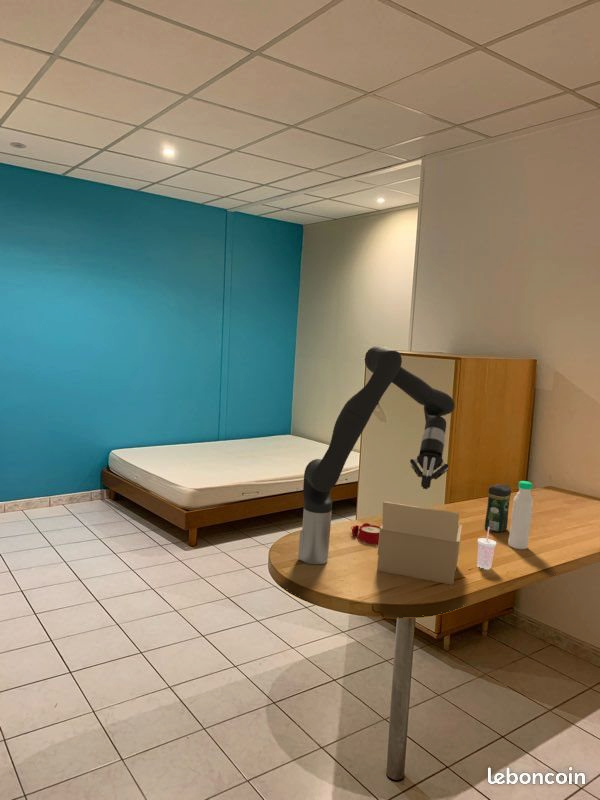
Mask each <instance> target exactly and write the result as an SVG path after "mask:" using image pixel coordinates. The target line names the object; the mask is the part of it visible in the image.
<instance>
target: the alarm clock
mask: <svg viewBox="0 0 600 800" xmlns="http://www.w3.org/2000/svg"><path fill="white" fill-rule="evenodd" d="M380 527H381V526H379V525H375V524H370V523H368V522H365V523H363V524H362V525H353V526H351V527H350V529H351V534H352V536H353V537H355V536H356V538H357V539H358V541H360V542H363V543H367V544H375V545H378V543H379V532H380Z"/></svg>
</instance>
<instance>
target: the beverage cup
mask: <svg viewBox="0 0 600 800" xmlns="http://www.w3.org/2000/svg"><path fill="white" fill-rule="evenodd" d="M489 528H490V527H488V529H487V533H486V537H484V538H483V537H481V538H480V537H479V538H477V543H478V544H477V558H476V559H477V560H476V566H477V568H479V567H480V568H479V569H481V568H484V569H483V570H491V569H492V563H493V559H494V554H495V549H496V548H495V547H496V546H497V541H495V540H493V539H491V538H489V534H490V530H489ZM490 568H491V569H490Z"/></svg>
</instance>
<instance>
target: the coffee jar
mask: <svg viewBox="0 0 600 800" xmlns="http://www.w3.org/2000/svg"><path fill="white" fill-rule="evenodd" d="M511 493H512V489H511V487H510V486H509V485H507V484H504V483H498V484H495V485H491V486H489V487H488V492H487V507H486V514H485V519H484V520H485V521H484V529H486V530H488V527H490V528H489V532H494V533H495V532H497V533H502V532H504V531H506V530H507V529H508V521H509V510H510V509H509V508H510V500H511V495H512V494H511Z"/></svg>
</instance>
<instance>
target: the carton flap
mask: <svg viewBox="0 0 600 800" xmlns="http://www.w3.org/2000/svg"><path fill="white" fill-rule="evenodd" d="M459 519H460V512H454V511H449V510H441V509H437V508H436V509H435V508H429V507H422V506H416V505H410V504H409V505H408V504H404V503H398V502H397V503H396V502H391V501H382V522H381V523H382V524H381V525H382V530H388V531H394V532H400V533H406V534H411V535H417V536H423V537H429V538H435V539H441V540H447V541H452V542H456V541H457V531H458V524H459V522H460V521H459Z"/></svg>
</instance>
